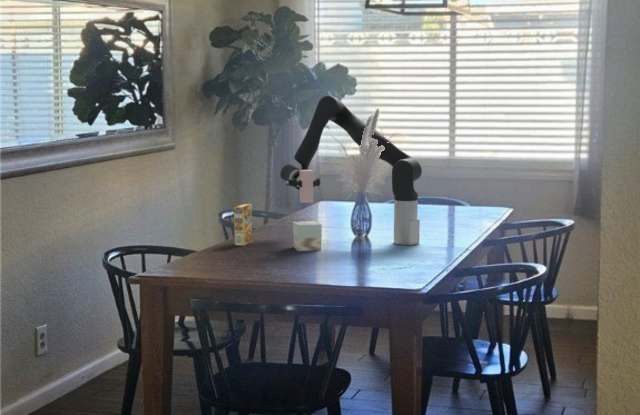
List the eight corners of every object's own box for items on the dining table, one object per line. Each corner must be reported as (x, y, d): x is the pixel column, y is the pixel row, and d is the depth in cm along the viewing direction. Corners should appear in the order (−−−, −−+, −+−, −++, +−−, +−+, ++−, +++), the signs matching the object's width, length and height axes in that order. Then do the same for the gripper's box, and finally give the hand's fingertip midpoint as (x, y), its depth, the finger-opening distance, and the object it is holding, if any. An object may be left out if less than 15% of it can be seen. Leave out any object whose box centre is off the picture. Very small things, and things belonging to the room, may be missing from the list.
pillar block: (311, 201, 364) (311, 169, 362) (313, 202, 360) (313, 170, 358) (299, 201, 363) (299, 169, 361) (301, 202, 359) (301, 171, 357)
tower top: (315, 233, 368) (315, 221, 368) (321, 237, 360) (321, 224, 359) (293, 234, 366) (293, 221, 365) (298, 238, 357) (298, 225, 357)
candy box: (244, 246, 369) (243, 206, 367) (234, 245, 370) (233, 206, 368) (252, 242, 377) (252, 204, 375) (242, 241, 378) (242, 203, 376)
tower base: (316, 246, 369) (316, 234, 368) (321, 250, 360) (321, 237, 359) (293, 247, 367) (293, 234, 366) (297, 251, 358) (297, 238, 357)
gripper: (282, 170, 372) (289, 174, 356) (317, 169, 375) (326, 173, 358) (282, 189, 373) (289, 194, 357) (317, 188, 376) (326, 193, 359)
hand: (307, 184), depth 358 cm, fingers closed on pillar block, 4 cm apart
